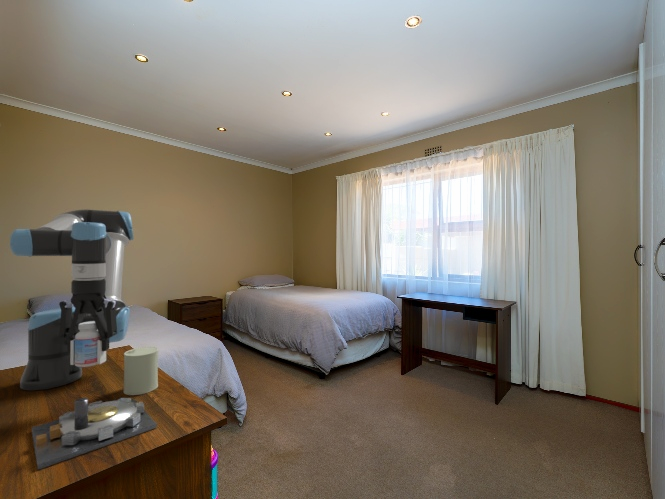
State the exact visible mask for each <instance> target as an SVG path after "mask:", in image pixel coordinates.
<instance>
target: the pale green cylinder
mask: <svg viewBox="0 0 665 499" xmlns="http://www.w3.org/2000/svg"><path fill="white" fill-rule="evenodd" d="M123 358H124V359H123V360H124V362H123V364H124V365H123V367H124V368H123V370H124V371H123V373H124V375H123V394H124V395H126V396H140V395H144V394H148V393H151V392H152V391H155V390H157V388H158V387H159V379H158V374H159V372H158V371H159V370H158V368H159V365H158V363H159V361H158V360H159V348H158V347H155V346H144V347H143V346H142V347H136V348H132V349H129V350H127V351H125V352H124V353H123Z"/></svg>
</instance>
